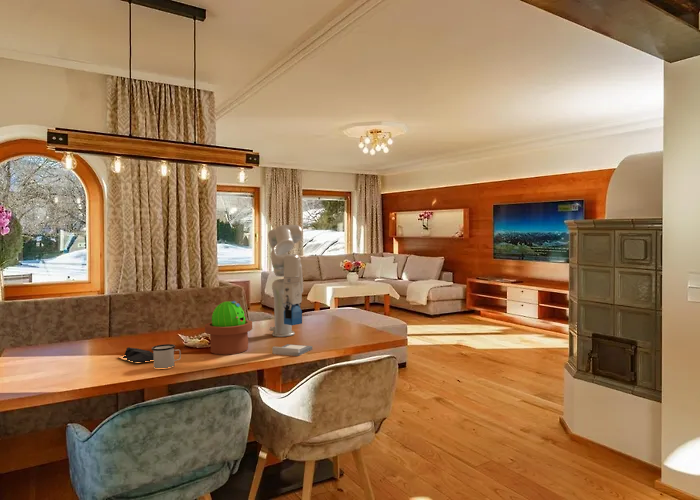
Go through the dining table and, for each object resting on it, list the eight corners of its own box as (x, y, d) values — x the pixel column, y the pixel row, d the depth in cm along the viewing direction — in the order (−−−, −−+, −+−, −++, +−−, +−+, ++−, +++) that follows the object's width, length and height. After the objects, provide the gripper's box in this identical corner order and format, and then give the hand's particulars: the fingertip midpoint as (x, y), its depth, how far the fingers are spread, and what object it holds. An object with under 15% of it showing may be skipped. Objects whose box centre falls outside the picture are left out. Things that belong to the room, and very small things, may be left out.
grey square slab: (272, 353, 224) (272, 347, 224) (287, 347, 237) (287, 340, 237) (298, 356, 218) (298, 349, 218) (312, 349, 231) (312, 342, 231)
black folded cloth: (130, 367, 207) (130, 356, 207) (116, 358, 223) (115, 348, 223) (165, 360, 217) (165, 350, 217) (149, 353, 234) (148, 343, 233)
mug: (156, 371, 198) (155, 350, 197) (149, 367, 205) (148, 346, 205) (184, 366, 205) (184, 345, 205) (177, 362, 213) (176, 342, 212)
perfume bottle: (292, 325, 224) (291, 300, 223) (283, 324, 228) (283, 299, 228) (302, 323, 228) (301, 298, 228) (293, 322, 233) (293, 297, 232)
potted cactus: (196, 354, 226) (195, 302, 226) (224, 344, 247) (223, 296, 246) (235, 357, 218) (233, 303, 217) (260, 347, 239) (259, 297, 238)
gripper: (289, 282, 218) (290, 320, 219) (307, 279, 234) (308, 314, 235) (275, 282, 221) (276, 319, 222) (294, 278, 237) (295, 313, 238)
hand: (292, 316), depth 228 cm, fingers closed on perfume bottle, 7 cm apart
